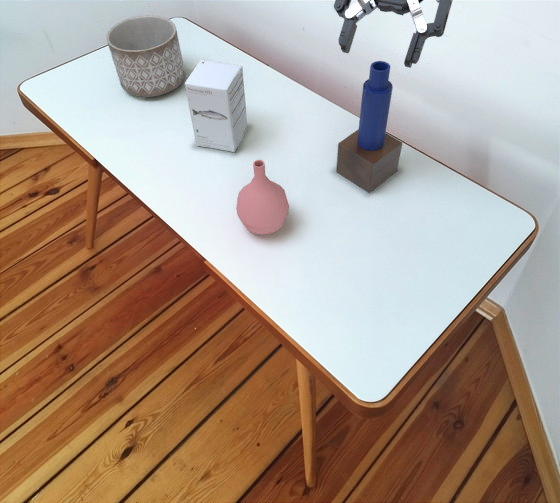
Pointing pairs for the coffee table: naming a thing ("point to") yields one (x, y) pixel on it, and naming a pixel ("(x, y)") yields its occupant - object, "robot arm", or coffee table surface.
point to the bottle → (375, 107)
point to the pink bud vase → (262, 203)
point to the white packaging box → (217, 104)
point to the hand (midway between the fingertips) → (375, 58)
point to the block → (368, 161)
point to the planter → (146, 55)
